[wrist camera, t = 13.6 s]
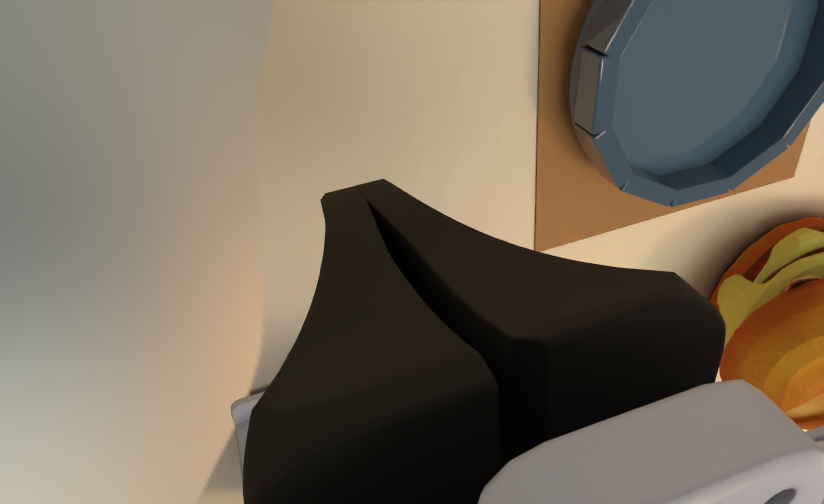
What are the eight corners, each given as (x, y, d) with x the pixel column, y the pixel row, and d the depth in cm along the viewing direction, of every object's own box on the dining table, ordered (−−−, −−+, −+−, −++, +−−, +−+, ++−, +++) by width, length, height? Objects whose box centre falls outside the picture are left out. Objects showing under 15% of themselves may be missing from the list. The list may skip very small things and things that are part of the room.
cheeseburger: (814, 332, 39) (934, 470, 31) (648, 340, 38) (727, 483, 30) (887, 192, 33) (1059, 316, 25) (693, 198, 32) (806, 328, 24)
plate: (550, 201, 26) (581, 231, 24) (571, -93, 20) (616, -84, 18) (764, 148, 29) (808, 172, 27) (844, -130, 22) (910, -125, 20)
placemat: (534, 252, 28) (535, 253, 28) (544, -183, 18) (545, -183, 18) (792, 176, 31) (793, 176, 31) (916, -235, 21) (918, -236, 21)
